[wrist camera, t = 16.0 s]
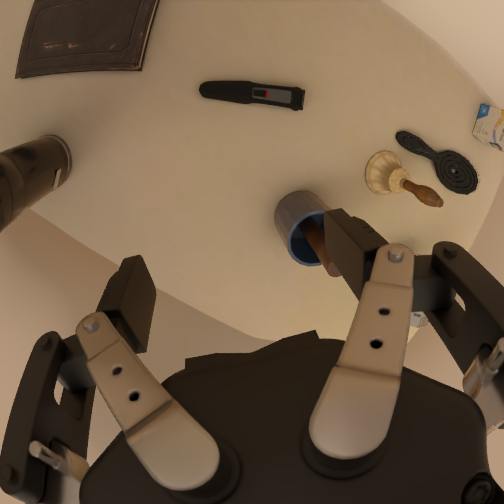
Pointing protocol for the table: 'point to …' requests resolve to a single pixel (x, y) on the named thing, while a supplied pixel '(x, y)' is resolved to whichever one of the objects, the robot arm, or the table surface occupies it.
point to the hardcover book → (85, 36)
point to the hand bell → (396, 179)
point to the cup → (291, 215)
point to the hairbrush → (444, 164)
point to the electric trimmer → (254, 93)
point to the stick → (318, 243)
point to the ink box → (490, 127)
